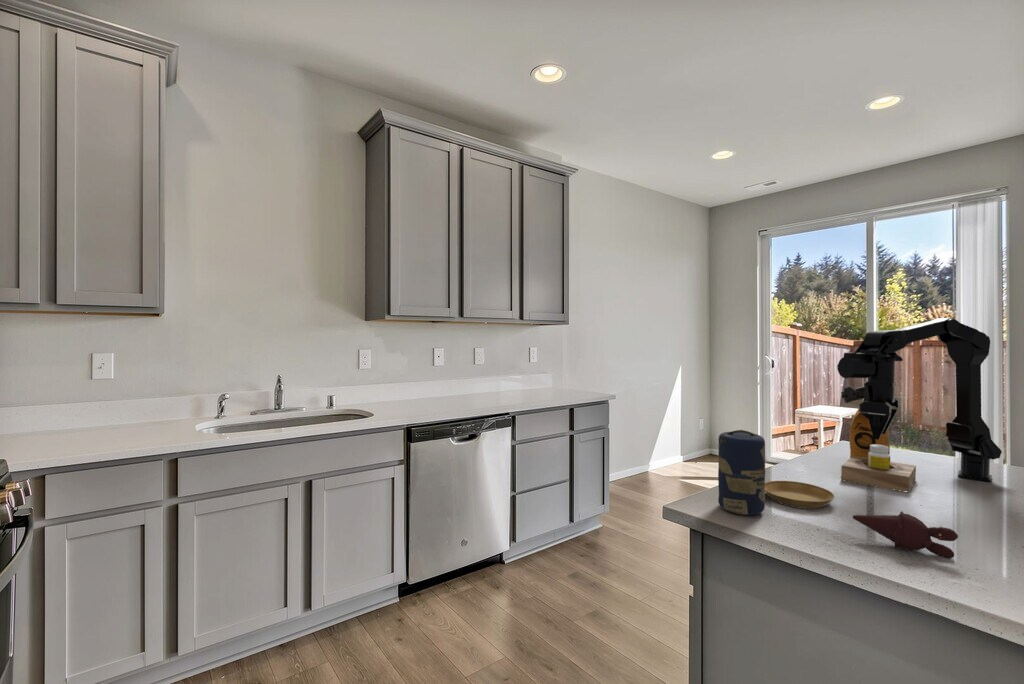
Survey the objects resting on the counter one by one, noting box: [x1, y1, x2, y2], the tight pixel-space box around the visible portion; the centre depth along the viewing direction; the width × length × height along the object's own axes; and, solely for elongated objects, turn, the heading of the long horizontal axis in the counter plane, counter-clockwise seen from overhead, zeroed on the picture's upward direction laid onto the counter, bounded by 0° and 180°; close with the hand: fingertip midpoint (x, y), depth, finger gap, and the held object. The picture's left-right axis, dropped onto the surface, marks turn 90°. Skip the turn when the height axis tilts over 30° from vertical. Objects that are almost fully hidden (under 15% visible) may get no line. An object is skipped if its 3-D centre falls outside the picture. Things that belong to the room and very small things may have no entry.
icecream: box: [852, 511, 959, 559], centre depth 89 cm, size 7×7×15 cm
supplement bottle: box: [868, 444, 891, 469], centre depth 129 cm, size 5×5×8 cm
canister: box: [717, 429, 766, 516], centre depth 108 cm, size 10×10×18 cm
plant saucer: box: [765, 480, 835, 510], centre depth 114 cm, size 15×15×3 cm
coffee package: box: [849, 408, 891, 459], centre depth 145 cm, size 10×12×22 cm
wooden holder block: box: [840, 456, 917, 493], centre depth 129 cm, size 14×14×4 cm
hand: (879, 436), depth 128 cm, fingers open, 9 cm apart
